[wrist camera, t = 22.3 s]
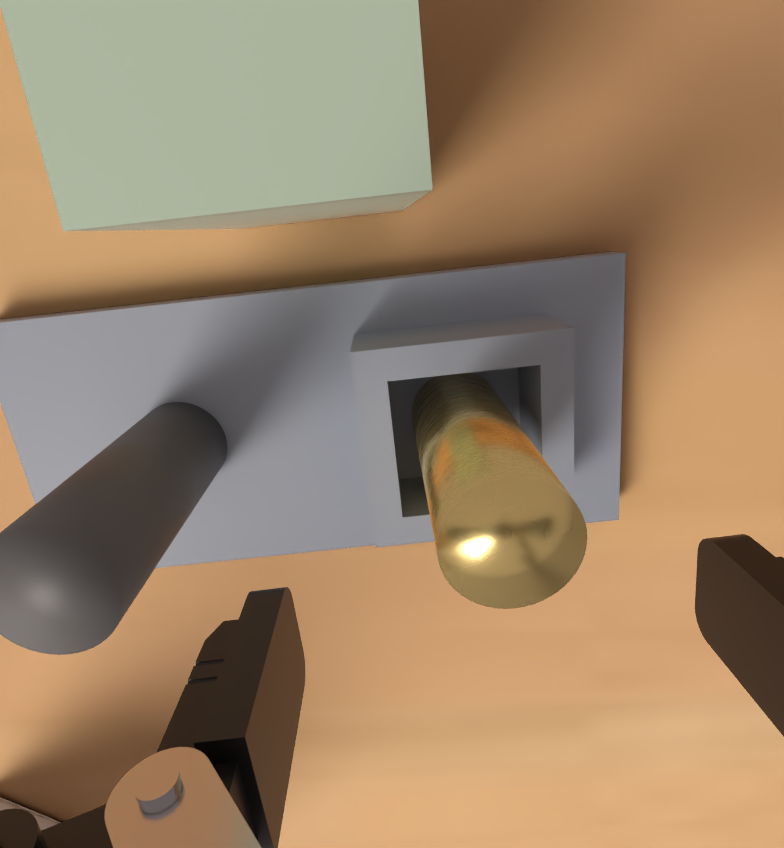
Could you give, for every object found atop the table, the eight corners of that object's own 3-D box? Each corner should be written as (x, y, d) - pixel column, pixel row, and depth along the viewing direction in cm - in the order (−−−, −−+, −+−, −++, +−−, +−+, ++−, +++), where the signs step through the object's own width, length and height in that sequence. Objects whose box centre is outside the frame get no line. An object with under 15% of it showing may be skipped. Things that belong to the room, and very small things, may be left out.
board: (606, 505, 23) (767, 701, 14) (76, 561, 24) (-132, 790, 14) (611, 251, 20) (826, 274, 10) (-4, 320, 20) (-347, 403, 11)
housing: (402, 210, 20) (432, 189, 9) (240, 228, 20) (63, 231, 9) (384, 18, 18) (393, -322, 7) (205, 39, 18) (-75, -264, 7)
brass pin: (501, 450, 21) (586, 601, 13) (415, 459, 21) (442, 615, 13) (498, 366, 20) (587, 469, 12) (407, 375, 20) (431, 485, 12)
